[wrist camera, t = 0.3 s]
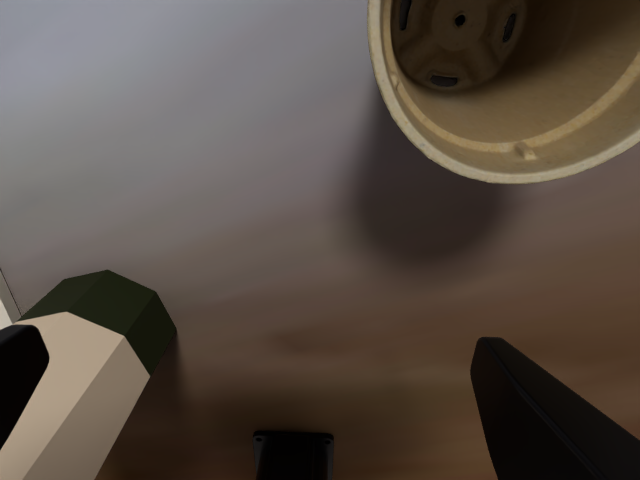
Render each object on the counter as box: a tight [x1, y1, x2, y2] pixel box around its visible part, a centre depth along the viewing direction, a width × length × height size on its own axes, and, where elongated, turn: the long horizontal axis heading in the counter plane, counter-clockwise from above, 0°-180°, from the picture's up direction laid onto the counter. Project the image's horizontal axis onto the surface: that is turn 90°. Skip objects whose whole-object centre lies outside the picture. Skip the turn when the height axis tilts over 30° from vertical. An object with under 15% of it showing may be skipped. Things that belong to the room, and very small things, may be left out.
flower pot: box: [367, 0, 640, 184], centre depth 13 cm, size 9×9×9 cm
